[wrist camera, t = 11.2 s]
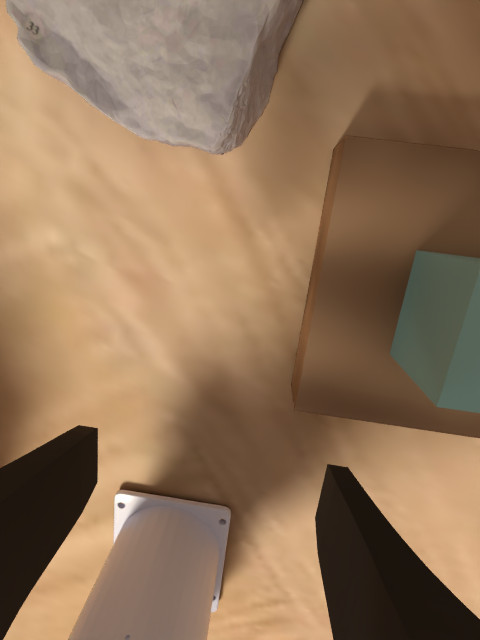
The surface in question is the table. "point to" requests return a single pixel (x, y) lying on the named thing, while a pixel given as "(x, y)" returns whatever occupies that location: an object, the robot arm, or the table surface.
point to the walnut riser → (381, 277)
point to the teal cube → (442, 329)
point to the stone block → (163, 61)
